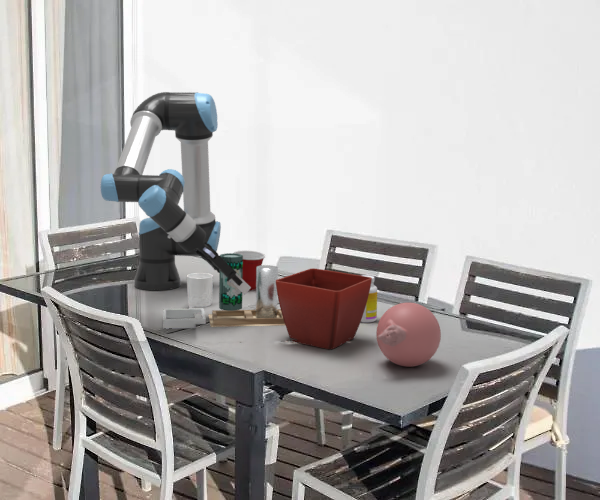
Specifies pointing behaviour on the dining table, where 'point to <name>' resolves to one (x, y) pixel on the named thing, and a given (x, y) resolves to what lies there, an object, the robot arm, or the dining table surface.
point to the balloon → (408, 334)
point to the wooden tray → (242, 318)
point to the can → (230, 284)
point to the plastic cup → (251, 266)
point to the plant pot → (322, 306)
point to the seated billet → (266, 291)
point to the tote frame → (182, 314)
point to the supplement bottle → (370, 304)
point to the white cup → (199, 289)
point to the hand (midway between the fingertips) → (243, 288)
